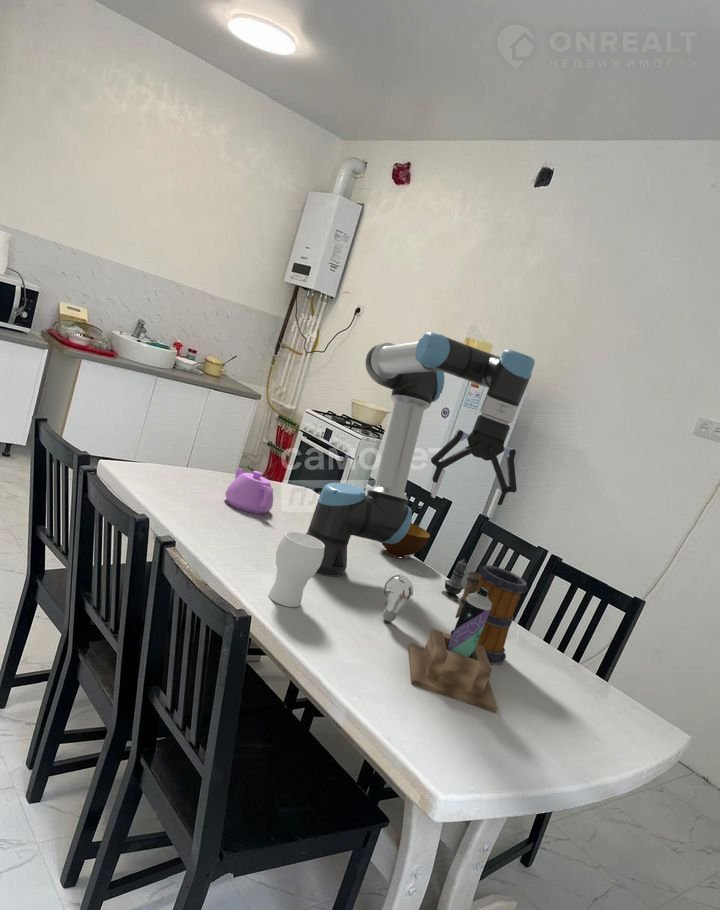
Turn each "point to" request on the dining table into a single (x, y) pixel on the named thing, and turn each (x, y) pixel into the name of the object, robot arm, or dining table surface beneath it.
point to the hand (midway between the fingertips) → (461, 506)
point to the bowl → (409, 542)
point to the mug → (495, 607)
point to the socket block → (452, 671)
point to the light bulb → (396, 596)
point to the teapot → (250, 492)
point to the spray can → (470, 623)
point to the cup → (295, 567)
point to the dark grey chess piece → (455, 581)
